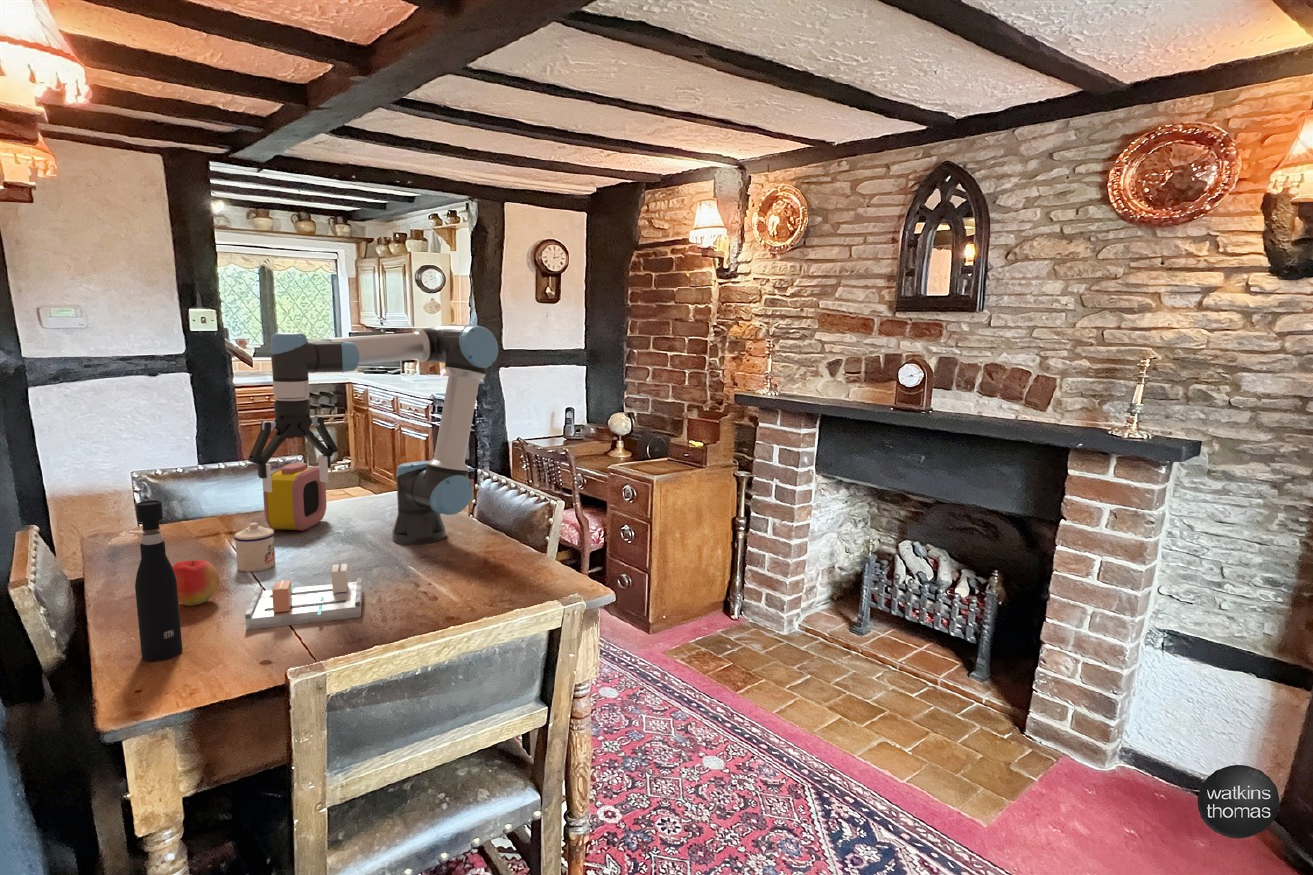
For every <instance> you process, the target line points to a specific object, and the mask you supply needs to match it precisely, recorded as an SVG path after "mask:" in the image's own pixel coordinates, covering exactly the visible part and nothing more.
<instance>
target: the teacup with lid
mask: <svg viewBox="0 0 1313 875" xmlns="http://www.w3.org/2000/svg"><path fill="white" fill-rule="evenodd" d="M274 536H275V530H274V529H272V528H270V527H264V526H261V525H259V523H258V522H251V523H249V526H247V527H245V528H244V529H243V530H240V531H238V532H236V533H235V534H234V537H233V539H234V540H235V542H234V543H235V552H236V568H237V570H238V571H240V572H245V573H253V572H255V573H256V572H261V571H265V570H269V569H271V568H272V567H274V566H275V565H276V554H275V553H276V552H275V538H274Z"/></svg>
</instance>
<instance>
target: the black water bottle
mask: <svg viewBox="0 0 1313 875" xmlns="http://www.w3.org/2000/svg"><path fill="white" fill-rule="evenodd" d="M162 505H163V504H162V501H161V500H155V499H153V500H143V501H140V502H137V503H136V504H135V508H136V509H135V510H136V511H135V512H136V520H137V522H138V523H142V524H141V525H142V532H143V533H141V537H140V539H141V540H140V542H141V543H140V545H139V547H140V558H141V559H140V562H139V565H138V568H137V572H136V575H135V576H136V577H135V585H134V589H135V599H136V602H135V603H136V610H137V621H138V633H139V641H140V644H139V645H140V653H141V654H140V655H141V660H142V661H145V662H148V663H149V662H150V663H151V662H152V663H153V662H155V663H156V662H161V661H166V660H170V659H173V658H175V657H177V656H179V655H180V654H181V653H182V652H183V639H182V629H181V628H182V627H181V618H180V604H179V603H180V602H178V592H177V580H176V576H175V573H174V570H173V567H172V566H173V565H172V564H171V562H170V560H169V558H168V557H167V554H166V545H165V544H166V543H165V542H166V541H165V540H163V539H164V538H163V533H162V531H160V529H161V527H160V523H159V522H160V521H161V520H163V518H164V516H163V506H162Z"/></svg>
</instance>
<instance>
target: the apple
mask: <svg viewBox="0 0 1313 875" xmlns="http://www.w3.org/2000/svg"><path fill="white" fill-rule="evenodd" d="M172 567H173V570H174V573H175V576H176V580H177V592H178V603H180V604H182V605H185V606H189V607H191V606H197V605H201V604H204V603H206V602H207V601H208V600H209V599H211V597H213V596H214V594H215V593H216V591H217V589H218V587H219V585H220V574H219V572H218V570H217V568H216V567H215V566H214V565H213V564H212V563H210V562H209V561H208V560H203V559H193V560H183V561H177V562H175V564H173V565H172Z"/></svg>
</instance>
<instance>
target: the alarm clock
mask: <svg viewBox="0 0 1313 875" xmlns="http://www.w3.org/2000/svg"><path fill="white" fill-rule="evenodd" d="M271 482H272V492H266V491H263V492H262V494H263V510H264V519H265V522H266V525H268V528H269V529H272V530H273V531H276V530H285V531H286V530H288V531H289V530H291V531H293V530H294V531H299V532H302V531H307V530H309V529H311V528H312V527H314V526H316V525H317V524H319V523H320V522H321V521H322V520H323V519H324V517H325V514H326V511H327V487H326V486H327V485H326V483H325V482H321V481H320V473H319V467H317V466H313V467H308V466H307V463H306V462H294V463H290V464H287V465H284V466H283V467H281V469H278V470H275V471H273V472H271Z"/></svg>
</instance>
